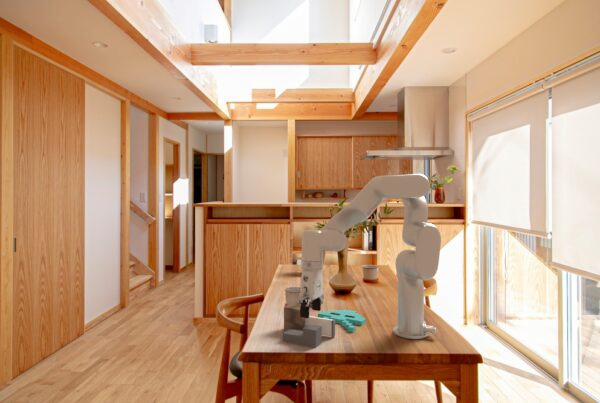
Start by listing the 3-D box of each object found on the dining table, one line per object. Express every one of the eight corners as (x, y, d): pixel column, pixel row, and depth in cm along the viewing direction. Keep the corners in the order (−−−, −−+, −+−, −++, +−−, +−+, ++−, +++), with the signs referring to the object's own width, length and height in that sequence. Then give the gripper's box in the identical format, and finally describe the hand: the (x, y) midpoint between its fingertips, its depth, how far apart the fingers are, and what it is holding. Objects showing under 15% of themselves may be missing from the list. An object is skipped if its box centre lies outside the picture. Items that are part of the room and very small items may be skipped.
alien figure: (353, 333, 145) (371, 319, 162) (353, 327, 145) (371, 314, 162) (307, 324, 155) (329, 312, 172) (307, 319, 155) (329, 307, 172)
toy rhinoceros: (306, 311, 180) (305, 296, 176) (312, 296, 190) (310, 282, 187) (321, 312, 178) (320, 297, 175) (326, 297, 188) (324, 282, 185)
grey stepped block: (321, 342, 135) (321, 326, 134) (315, 347, 130) (315, 330, 130) (289, 336, 140) (289, 320, 140) (282, 341, 136) (282, 324, 136)
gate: (335, 335, 140) (335, 319, 140) (333, 337, 139) (333, 320, 139) (304, 330, 146) (304, 314, 146) (302, 331, 144) (302, 316, 144)
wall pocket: (308, 330, 147) (308, 306, 147) (302, 334, 142) (302, 310, 142) (290, 327, 150) (290, 304, 150) (283, 331, 146) (283, 307, 146)
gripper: (311, 270, 124) (309, 322, 124) (331, 262, 139) (329, 309, 139) (291, 267, 127) (289, 318, 127) (312, 260, 142) (311, 306, 143)
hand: (310, 313), depth 133 cm, fingers open, 9 cm apart
